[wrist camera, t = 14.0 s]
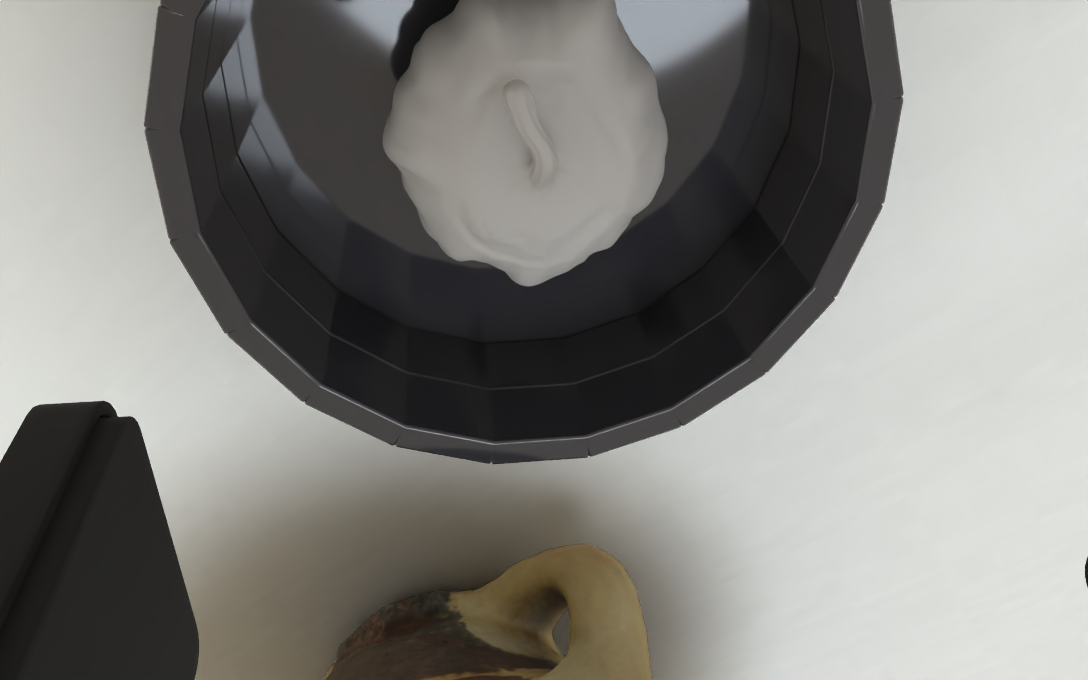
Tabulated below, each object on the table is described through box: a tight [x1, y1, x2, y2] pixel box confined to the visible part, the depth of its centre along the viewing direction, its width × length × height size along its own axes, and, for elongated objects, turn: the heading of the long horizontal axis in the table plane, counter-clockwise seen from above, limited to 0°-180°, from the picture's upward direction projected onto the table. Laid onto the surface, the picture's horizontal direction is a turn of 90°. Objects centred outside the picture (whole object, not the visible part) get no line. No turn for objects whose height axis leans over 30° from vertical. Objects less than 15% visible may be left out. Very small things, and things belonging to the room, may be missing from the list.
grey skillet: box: [144, 0, 903, 464], centre depth 20 cm, size 13×13×4 cm
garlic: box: [383, 0, 668, 286], centre depth 19 cm, size 6×5×5 cm
